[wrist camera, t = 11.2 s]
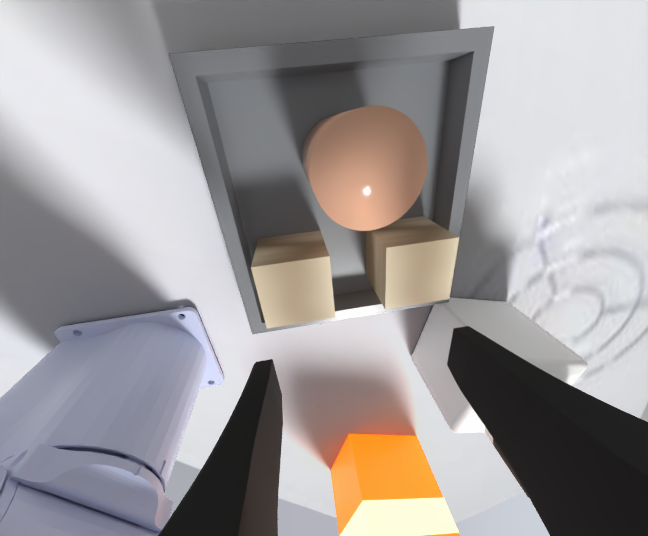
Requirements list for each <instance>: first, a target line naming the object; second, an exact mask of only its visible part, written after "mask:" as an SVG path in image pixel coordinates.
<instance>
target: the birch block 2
mask: <svg viewBox="0 0 648 536" xmlns="http://www.w3.org/2000/svg"><path fill="white" fill-rule="evenodd" d="M458 243H459V237H458V236H456V235H455V234H453V233H451V232H450V231H448V230H446V229H445V228H443V227H441V226H440V225H438V224H436V223H435V222H433V221H431V220H430V219H428V218H426V217H425V216H421V217H414V218H406V219H399V220H396V221H395V222H393V223H391V224H389V225H387V226H385V227H382V228H379V229H376V230H369V231H366V275H367V278H368V280H369V282H370V284H371V285H372V287H373V289H374V291H375V292H376V294H377V296H378V298H379V299H380V301H381V303H382V305H383V307H384V308H385V309H391V308H397V307H403V306H410V305H416V304H422V303H428V302H434V301H440V300H447V299H449V298H450V292H451V286H452V279H453V273H454V267H455V261H456V255H457V249H458Z"/></svg>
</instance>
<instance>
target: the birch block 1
mask: <svg viewBox="0 0 648 536" xmlns="http://www.w3.org/2000/svg"><path fill="white" fill-rule="evenodd" d="M251 270H252V273H253V277H254V281H255V285H256V289H257V293H258V296H259V300H260V304H261V308H262V312H263V316H264V319H265V323H266V327H267V329H268V328H274V327H280V326H286V325H292V324H298V323H305V322H311V321H317V320H323V319H329V318H335V308H334V297H333V287H332V276H331V265H330V256H329V253H328V250H327V247H326V245H325V242H324V239H323V236H322V234H321V231H320V230H319V231H311V232H304V233H297V234H289V235H282V236H275V237H268V238H260V239H258V242H257V246H256V250H255V254H254V258H253V261H252V265H251Z"/></svg>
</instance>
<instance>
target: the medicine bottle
mask: <svg viewBox="0 0 648 536" xmlns="http://www.w3.org/2000/svg"><path fill="white" fill-rule="evenodd" d="M465 326H469V327H471V328H473V329H474V330H476V331H478V332H480V333H481V334H483V335H485V336H486V337H488V338H489V339H491V340H493V341H494V342H496V343H498V344H499V345H501V346H503V347H504V348H506V349H508V350H509V351H511V352H513V353H514V354H516V355H518V356H519V357H521V358H523V359H524V360H526V361H528V362H529V363H531V364H533V365H535V366H536V367H538V368H540V369H542V370H543V371H545V372H547V373H549V374H551V375H552V376H554V377H556V378H558V379H560V380H562V381H563V382H565V383H567V384H569V385H571V386H572V385H573V384H574V382H575V381H576V380H577V379H578V378H579V377H580V375H581V374H582V373H583V372H584V371H585V370H586V368H587V367H588V364H587V362H586V361H585V360H584V359H583V358H582V357H580V356H579V355H578V354H576V353H575V352H574V351H572V350H571V349H570V348H568V347H567V346H566V345H564V344H563V343H562V342H560V341H559V340H558V339H556V338H555V337H554V336H552V335H551V334H550V333H549V332H547V331H546V330H545V329H543V328H542V327H541V326H539V325H538V324H537V323H535V322H534V321H533V320H531V319H530V318H529V317H527V316H526V315H525V314H523V313H522V312H521V311H519V310H518V309H517V308H516V307H514V306H513V305H512V304H510V303H508V302H503V301H490V300H478V299H465V298H453V297H450V300H449V302H447V303H441V304H435V305H434V306H433V308H432V310H431V313H430V315H429V317H428V320H427V322H426V324H425V326H424V329H423V331H422V333H421V336H420V338H419V340H418V343H417V345H416V347H415V350H414V352H413V354H412V357H411V358H412V361H413V363H414V364H415V366H416V368H417V370H418V372H419V373H420V375H421V377H422V379H423V381H424V382H425V384H426V386H427V388H428V389H429V391H430V393H431V395H432V397H433V398H434V400H435V402H436V404H437V406H438V407H439V409H440V411H441V413H442V415H443V416H444V418H445V420H446V422H447V424H448V425H449V427H450V429H451V430H452V431H453V432H455V433H472V432H485V433H486V435H487V436H488V438H489V439H490V441H491V442H492V444H493V445H494V447H495V448H496V450H497V451H498V453H499V454H500V456H501V457H502V459H503V460H504V462H505V463H506V465H507V466H508V468H509V469H510V471H511V472H512V474H513V475H514V477H515V478H516V480H517V481H518V483H519V484H520V486H521V487H522V489H523V490H524V492H525V493H526V495H527V496H528V494H527V492H526V490H525V489H524V487H523V485H522V484H521V482H520V480H519V478H518V477H517V475H516V473H515V471H514V470H513V468H512V466H511V464H510V463H509V461H508V460H507V458H506V456H505V455H504V453H503V452H502V450H501V449H500V447H499V446H498V444H497V443H496V441H495V440H494V439H493V437H492V436H491V434H490V433H489V431H488V430H487V428H486V427H485V425H484V424H483V423H482V421H481V420H480V418H479V417H478V415H477V414H476V412H475V411H474V410H473V408H472V407H471V405H470V404H469V402H468V401H467V399H466V398H465V396H464V395H463V393H462V392H461V390H460V389H459V387H458V385H457V383H456V381H455V379H454V378H453V376H452V374H451V372H450V370H449V368H448V366H447V361H448V356H449V350H450V345H451V340H452V334H453V329H454V328H459V327H465ZM528 497H529V496H528Z"/></svg>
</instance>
